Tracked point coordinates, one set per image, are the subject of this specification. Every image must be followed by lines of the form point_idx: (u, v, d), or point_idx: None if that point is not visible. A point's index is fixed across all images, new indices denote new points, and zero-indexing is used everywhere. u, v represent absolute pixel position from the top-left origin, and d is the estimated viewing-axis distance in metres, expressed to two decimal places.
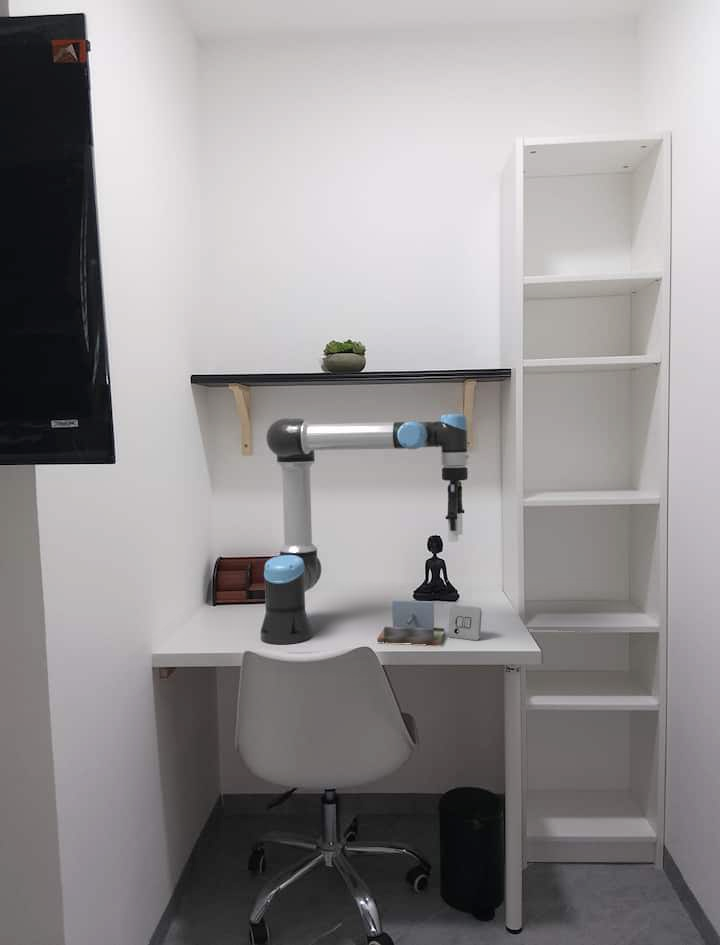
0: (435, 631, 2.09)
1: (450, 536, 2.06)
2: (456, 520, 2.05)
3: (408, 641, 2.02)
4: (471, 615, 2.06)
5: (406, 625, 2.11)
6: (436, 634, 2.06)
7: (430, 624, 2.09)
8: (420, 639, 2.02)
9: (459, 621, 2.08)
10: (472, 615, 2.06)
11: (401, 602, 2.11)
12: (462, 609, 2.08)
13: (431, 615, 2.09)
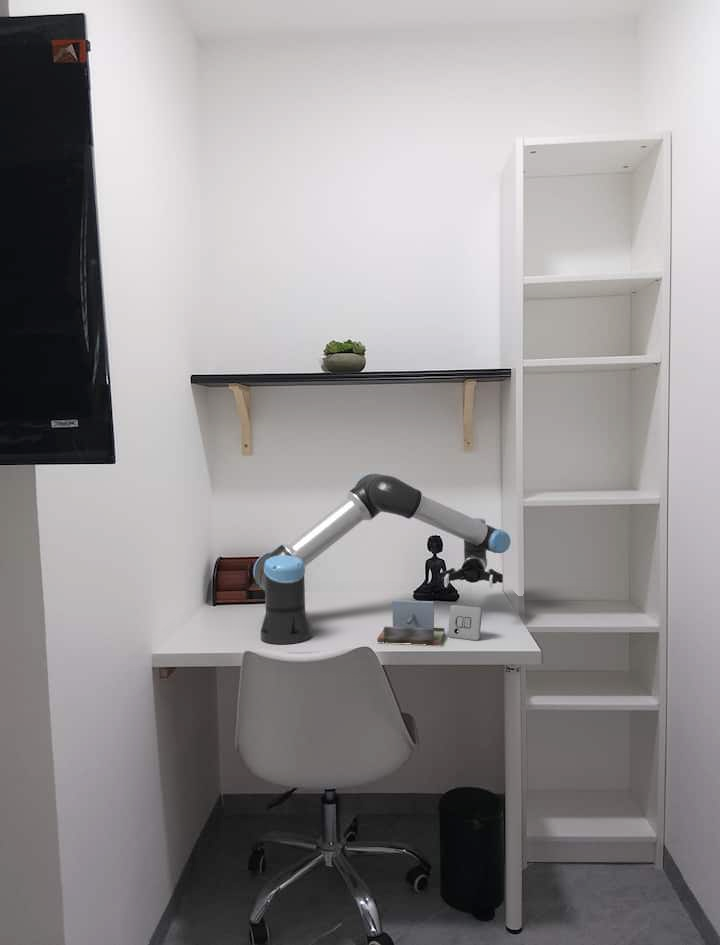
0: (435, 631, 2.09)
1: (492, 579, 2.18)
2: None
3: (408, 641, 2.02)
4: (471, 615, 2.06)
5: (406, 625, 2.11)
6: (436, 634, 2.06)
7: (430, 624, 2.09)
8: (420, 639, 2.02)
9: (459, 621, 2.08)
10: (472, 615, 2.06)
11: (401, 602, 2.11)
12: (462, 609, 2.08)
13: (431, 615, 2.09)
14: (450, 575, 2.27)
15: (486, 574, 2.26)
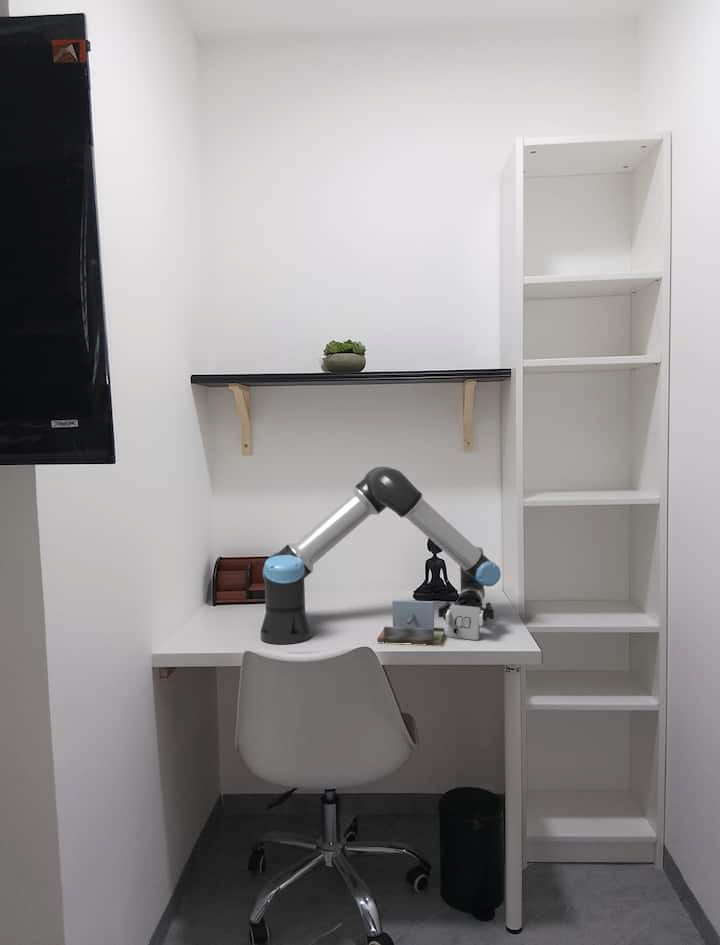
0: (435, 631, 2.09)
1: (482, 617, 2.04)
2: None
3: (408, 641, 2.02)
4: (470, 615, 2.06)
5: (406, 625, 2.11)
6: (436, 634, 2.06)
7: (430, 624, 2.09)
8: (420, 639, 2.02)
9: (458, 621, 2.08)
10: (472, 615, 2.06)
11: (401, 602, 2.11)
12: (461, 609, 2.08)
13: (431, 615, 2.09)
14: None
15: None
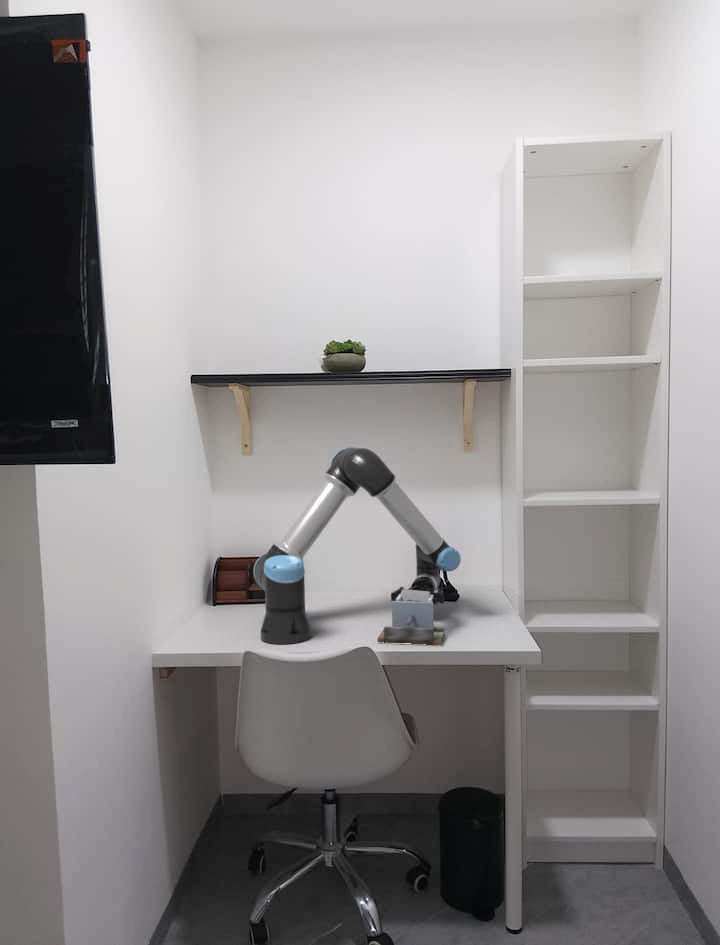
0: (435, 631, 2.09)
1: (431, 600, 2.11)
2: None
3: (408, 641, 2.02)
4: (420, 599, 2.13)
5: (405, 626, 2.10)
6: (436, 634, 2.06)
7: (430, 625, 2.08)
8: (420, 639, 2.02)
9: None
10: (421, 599, 2.13)
11: (400, 603, 2.10)
12: (412, 593, 2.15)
13: (431, 616, 2.08)
14: None
15: None
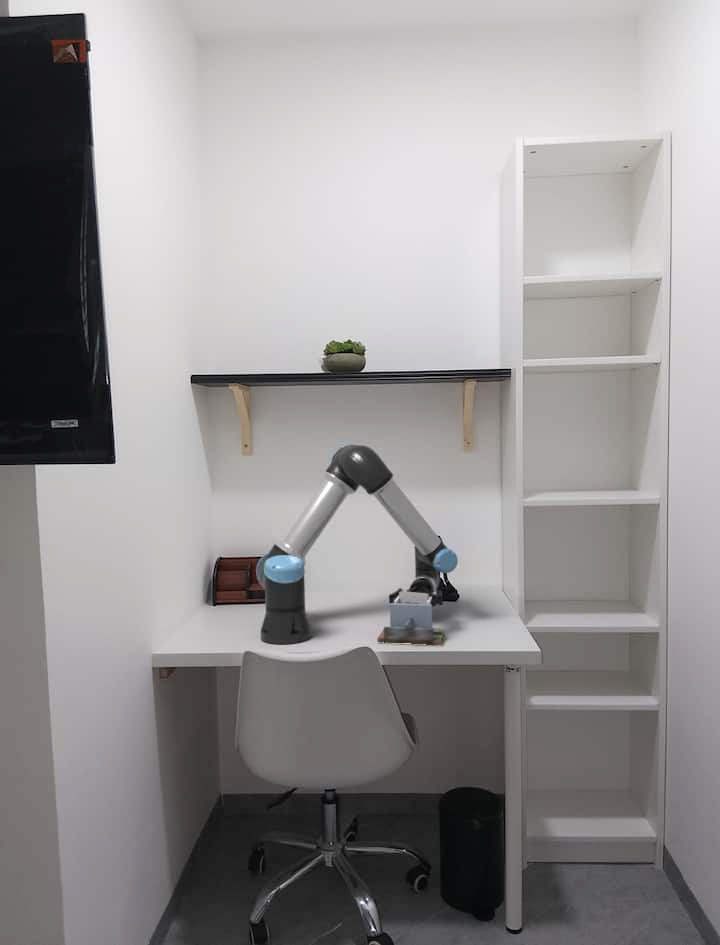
0: (435, 631, 2.09)
1: (429, 602, 2.08)
2: None
3: (408, 641, 2.02)
4: (419, 601, 2.10)
5: None
6: (436, 634, 2.06)
7: None
8: (420, 639, 2.02)
9: None
10: (420, 601, 2.10)
11: (399, 605, 2.07)
12: (410, 595, 2.12)
13: (429, 618, 2.05)
14: None
15: None
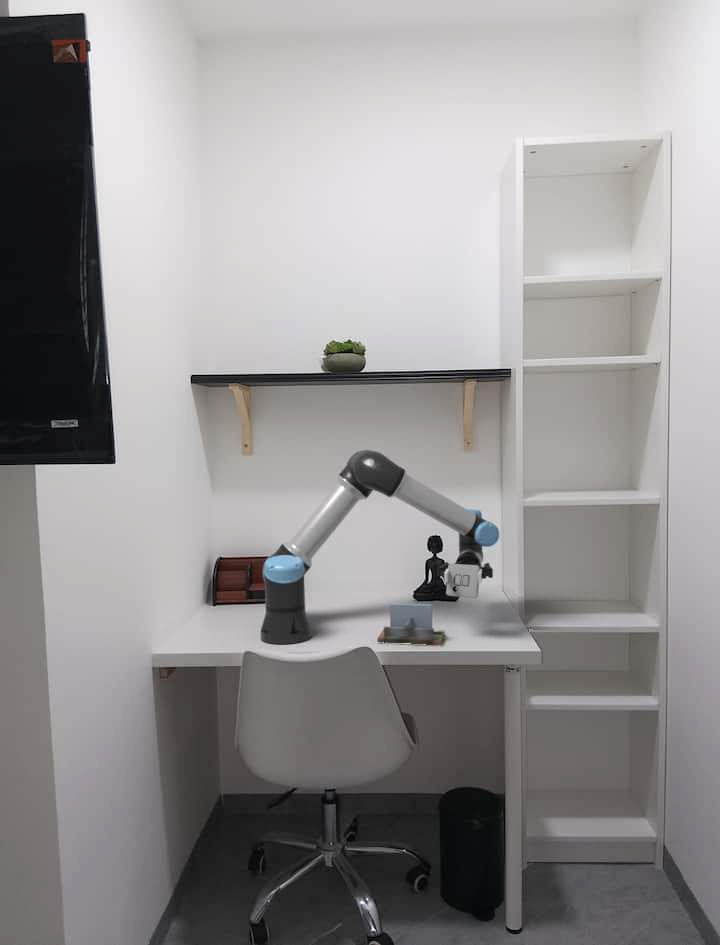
0: (435, 631, 2.09)
1: None
2: None
3: (408, 641, 2.02)
4: (469, 573, 2.06)
5: None
6: (436, 634, 2.06)
7: None
8: (420, 639, 2.02)
9: (457, 579, 2.07)
10: (470, 573, 2.06)
11: (399, 605, 2.07)
12: (460, 567, 2.08)
13: (429, 618, 2.05)
14: None
15: None
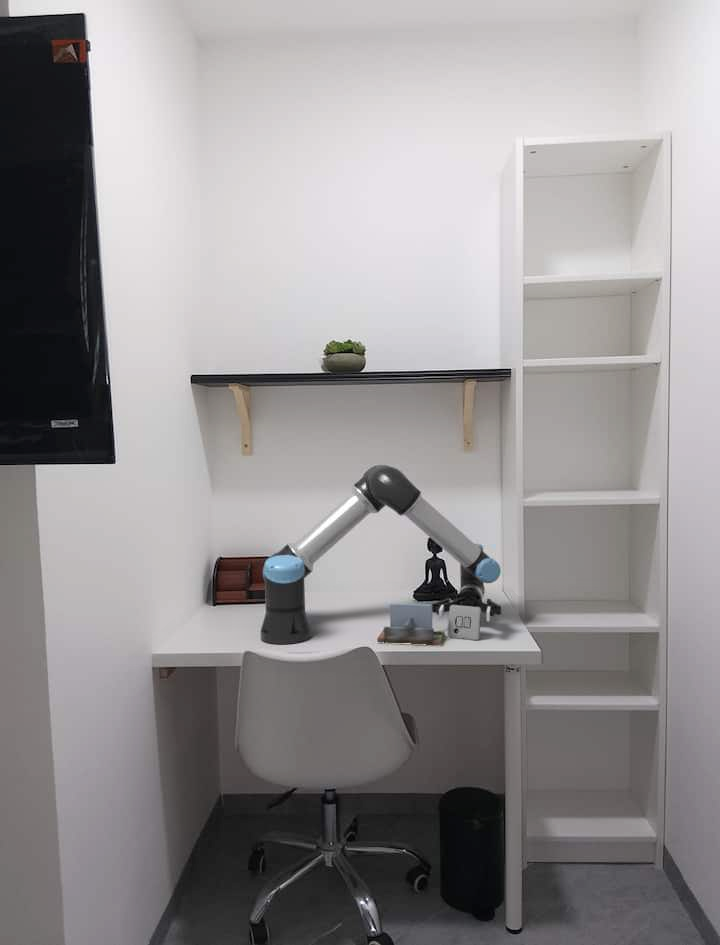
0: (435, 631, 2.09)
1: (489, 612, 2.05)
2: None
3: (408, 641, 2.02)
4: (471, 615, 2.07)
5: None
6: (436, 634, 2.06)
7: None
8: (420, 639, 2.02)
9: (459, 621, 2.08)
10: (472, 615, 2.07)
11: (399, 605, 2.07)
12: (462, 609, 2.08)
13: (429, 618, 2.05)
14: (445, 606, 2.14)
15: (483, 605, 2.13)
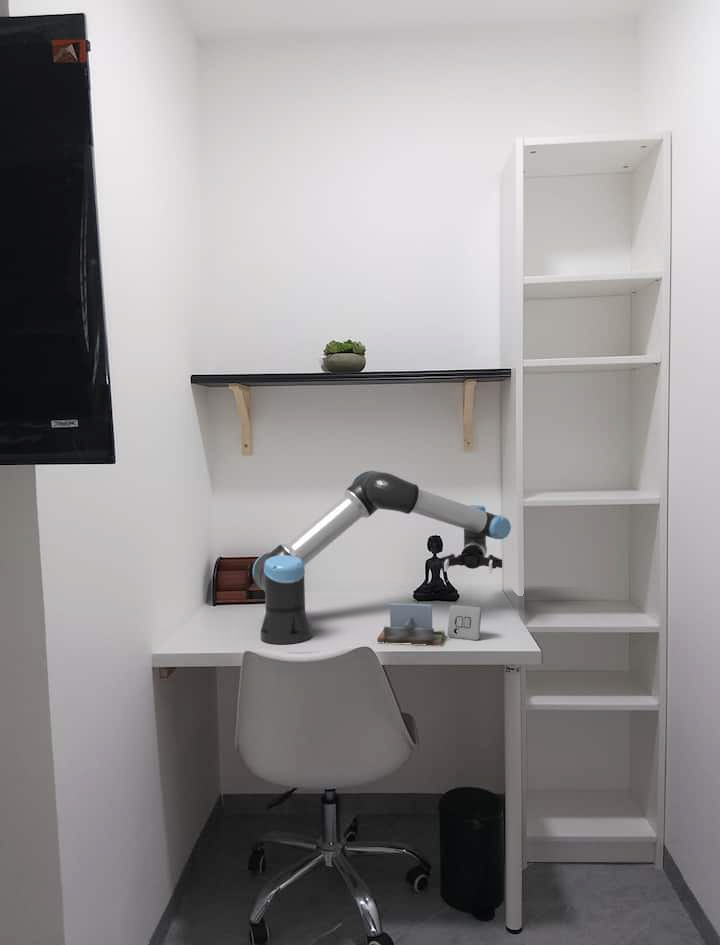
0: (435, 631, 2.09)
1: (491, 564, 2.19)
2: (492, 567, 2.23)
3: (408, 641, 2.02)
4: (471, 615, 2.07)
5: None
6: (436, 634, 2.06)
7: None
8: (420, 639, 2.02)
9: (459, 621, 2.08)
10: (472, 615, 2.07)
11: (399, 605, 2.07)
12: (462, 609, 2.08)
13: (429, 618, 2.05)
14: (450, 560, 2.28)
15: (486, 559, 2.27)
